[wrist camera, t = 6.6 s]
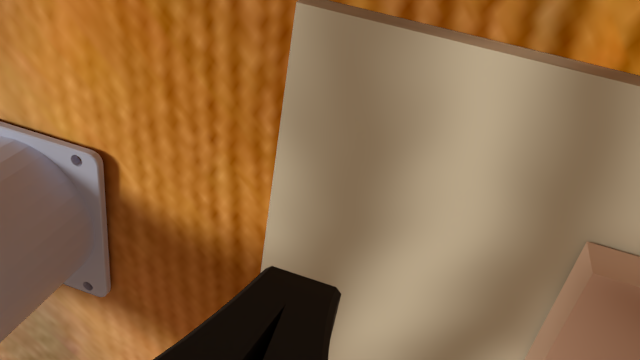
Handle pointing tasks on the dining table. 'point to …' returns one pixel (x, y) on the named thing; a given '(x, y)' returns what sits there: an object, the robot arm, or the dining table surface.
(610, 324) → the block
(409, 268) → the board
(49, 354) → the dining table surface
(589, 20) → the dining table surface
